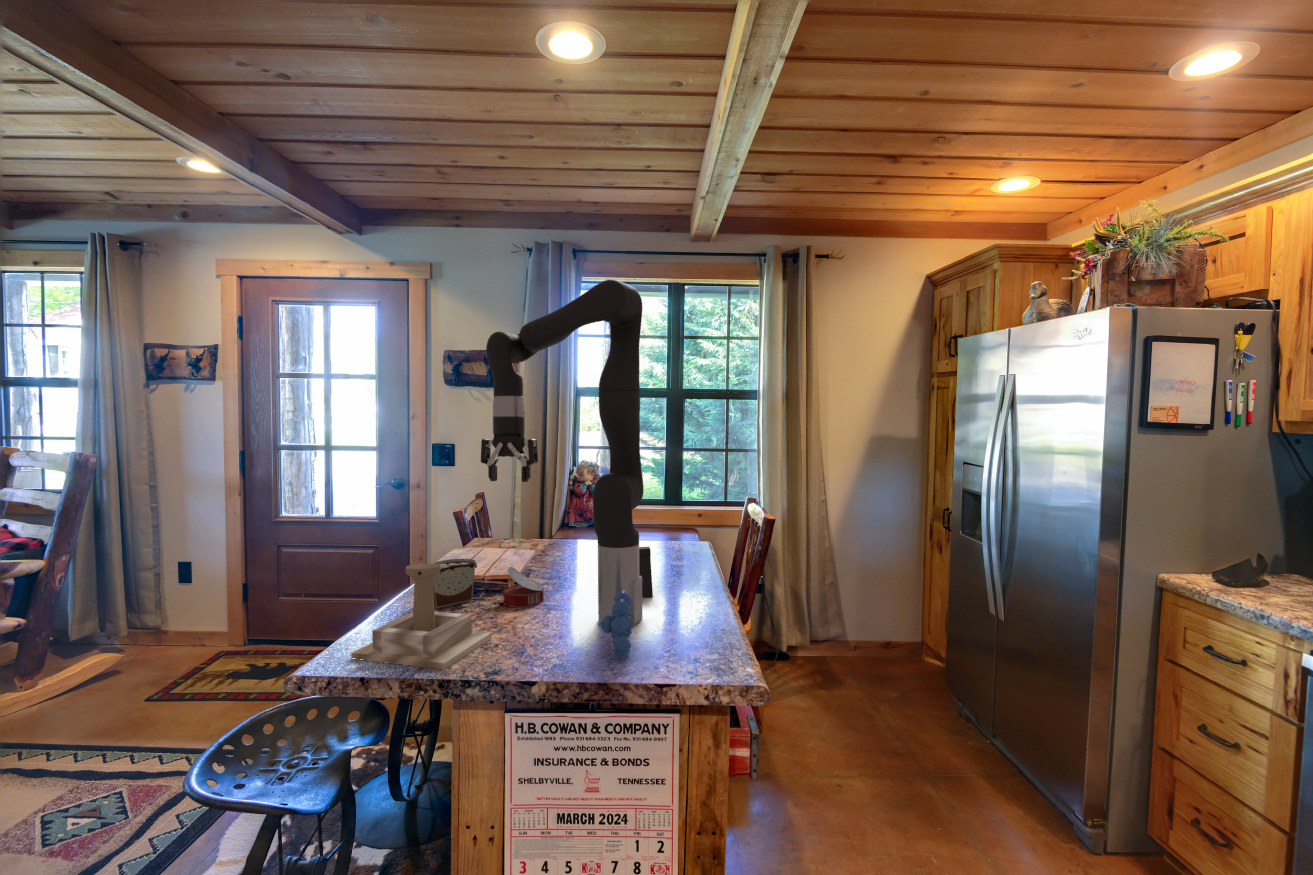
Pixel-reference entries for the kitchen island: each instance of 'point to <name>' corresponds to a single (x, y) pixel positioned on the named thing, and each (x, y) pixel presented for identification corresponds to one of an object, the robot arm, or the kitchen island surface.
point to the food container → (454, 582)
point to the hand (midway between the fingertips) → (509, 481)
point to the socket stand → (424, 642)
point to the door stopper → (645, 571)
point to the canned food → (523, 591)
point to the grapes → (619, 624)
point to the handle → (423, 595)
